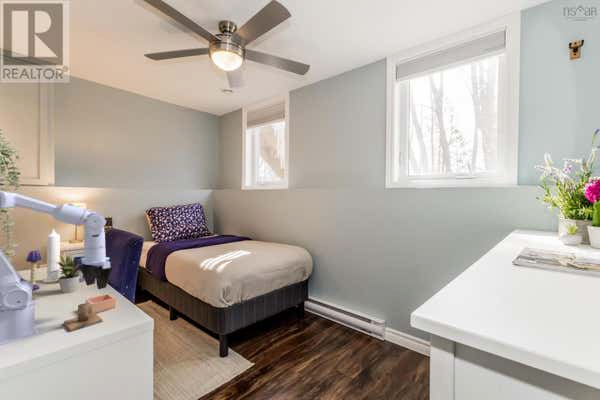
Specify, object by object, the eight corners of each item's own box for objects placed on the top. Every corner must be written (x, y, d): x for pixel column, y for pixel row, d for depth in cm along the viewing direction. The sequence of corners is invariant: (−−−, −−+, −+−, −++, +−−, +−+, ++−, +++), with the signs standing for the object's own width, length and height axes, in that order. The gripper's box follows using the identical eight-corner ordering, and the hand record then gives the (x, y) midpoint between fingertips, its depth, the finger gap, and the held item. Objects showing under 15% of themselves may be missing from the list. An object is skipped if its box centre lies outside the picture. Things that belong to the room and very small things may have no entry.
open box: (91, 315, 91) (91, 304, 91) (85, 310, 95) (85, 299, 95) (115, 308, 96) (115, 298, 96) (108, 303, 101) (108, 293, 101)
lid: (70, 331, 80) (70, 312, 80) (63, 323, 84) (63, 305, 84) (102, 321, 86) (102, 304, 86) (94, 314, 91) (94, 298, 91)
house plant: (34, 295, 108) (33, 255, 108) (70, 284, 121) (70, 249, 121) (60, 298, 105) (60, 258, 104) (94, 287, 118) (94, 251, 118)
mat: (69, 333, 79) (69, 332, 79) (62, 324, 84) (62, 323, 84) (103, 322, 86) (103, 321, 86) (94, 315, 91) (94, 314, 91)
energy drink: (79, 282, 124) (79, 257, 124) (70, 281, 125) (70, 256, 125) (90, 278, 129) (90, 254, 129) (81, 278, 130) (81, 254, 130)
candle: (47, 279, 128) (47, 228, 127) (65, 277, 131) (65, 227, 130) (40, 283, 121) (40, 230, 121) (60, 281, 124) (60, 229, 124)
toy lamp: (40, 286, 118) (40, 249, 117) (42, 289, 115) (42, 251, 114) (25, 289, 114) (25, 251, 114) (26, 292, 111) (26, 253, 111)
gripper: (119, 246, 90) (120, 285, 91) (97, 243, 97) (98, 279, 97) (95, 251, 84) (97, 293, 84) (73, 246, 91) (75, 285, 91)
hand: (96, 286), depth 90 cm, fingers open, 7 cm apart
